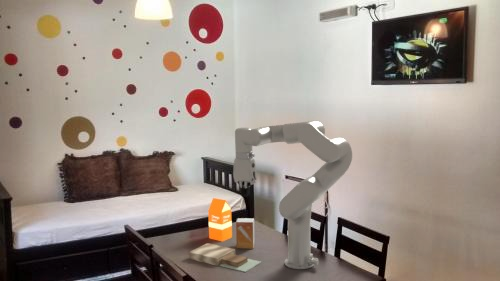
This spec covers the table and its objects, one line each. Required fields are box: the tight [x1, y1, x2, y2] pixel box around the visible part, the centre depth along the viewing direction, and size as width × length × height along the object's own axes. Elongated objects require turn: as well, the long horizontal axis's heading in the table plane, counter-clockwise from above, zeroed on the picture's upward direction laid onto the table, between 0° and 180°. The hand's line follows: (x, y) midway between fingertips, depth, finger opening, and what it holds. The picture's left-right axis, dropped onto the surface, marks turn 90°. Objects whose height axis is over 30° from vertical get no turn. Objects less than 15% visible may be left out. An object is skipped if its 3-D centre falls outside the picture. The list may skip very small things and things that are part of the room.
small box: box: [235, 217, 255, 250], centre depth 223 cm, size 8×6×13 cm
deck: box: [188, 242, 237, 267], centre depth 211 cm, size 16×13×3 cm
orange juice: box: [207, 197, 233, 242], centre depth 236 cm, size 8×9×20 cm
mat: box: [219, 258, 262, 273], centre depth 203 cm, size 14×12×1 cm
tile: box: [221, 254, 249, 267], centre depth 204 cm, size 9×7×2 cm
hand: (245, 196), depth 211 cm, fingers closed
